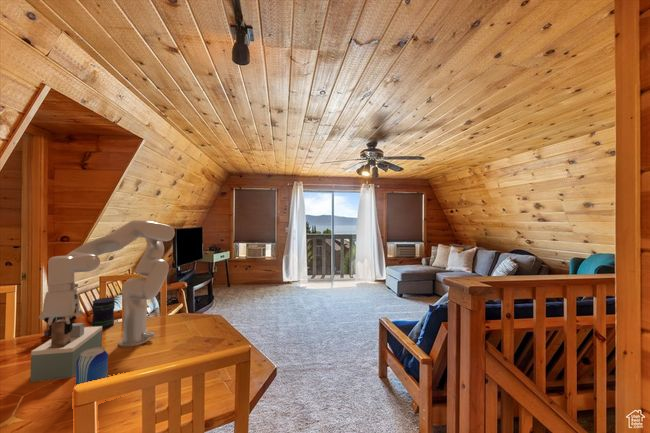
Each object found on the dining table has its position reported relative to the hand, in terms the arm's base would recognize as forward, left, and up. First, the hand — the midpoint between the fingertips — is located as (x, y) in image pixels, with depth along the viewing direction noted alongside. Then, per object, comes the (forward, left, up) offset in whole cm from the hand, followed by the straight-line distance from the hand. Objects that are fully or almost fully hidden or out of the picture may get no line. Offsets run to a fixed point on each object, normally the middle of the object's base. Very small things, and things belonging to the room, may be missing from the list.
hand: (61, 332), depth 110 cm
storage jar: (+7, -50, -16) cm, 53 cm away
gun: (+23, -38, -16) cm, 47 cm away
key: (0, 0, -11) cm, 11 cm away
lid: (0, -7, -6) cm, 9 cm away
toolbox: (0, -7, -16) cm, 17 cm away
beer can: (-20, +19, -16) cm, 32 cm away
